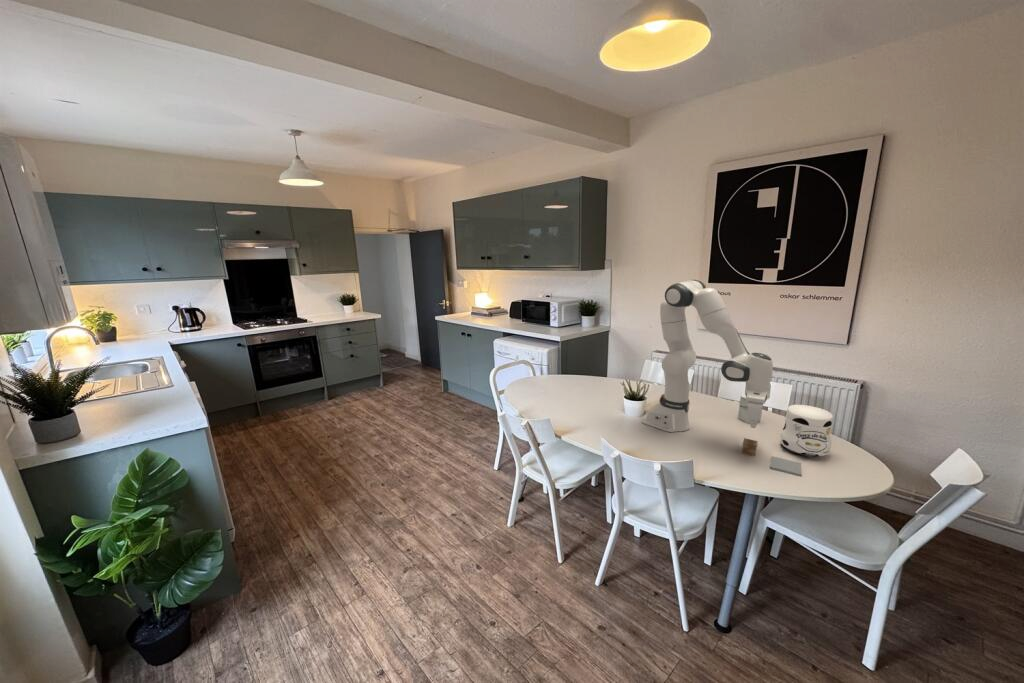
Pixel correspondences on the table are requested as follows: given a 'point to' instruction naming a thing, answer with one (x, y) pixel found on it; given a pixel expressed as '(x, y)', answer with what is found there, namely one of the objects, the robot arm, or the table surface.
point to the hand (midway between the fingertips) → (754, 423)
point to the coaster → (785, 466)
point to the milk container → (807, 430)
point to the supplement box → (745, 410)
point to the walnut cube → (749, 447)
